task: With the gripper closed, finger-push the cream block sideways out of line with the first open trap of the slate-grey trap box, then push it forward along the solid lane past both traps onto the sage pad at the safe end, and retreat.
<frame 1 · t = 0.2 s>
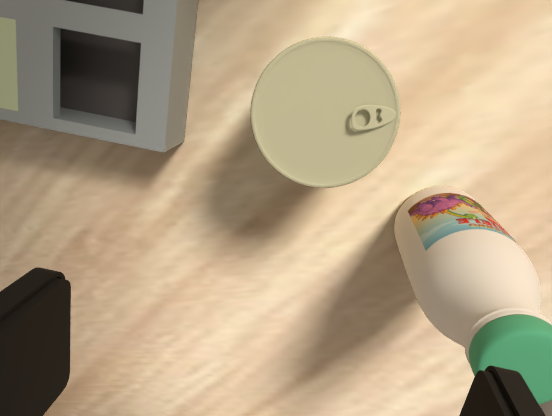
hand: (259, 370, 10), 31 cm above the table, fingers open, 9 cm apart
milk bottle: (436, 223, 40), on the table
can: (326, 99, 38), on the table
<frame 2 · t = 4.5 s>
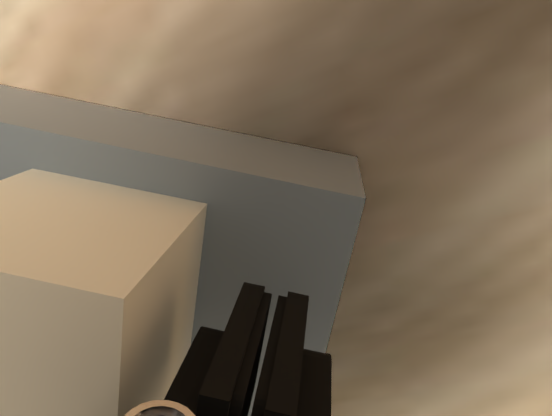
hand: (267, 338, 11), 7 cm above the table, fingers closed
block: (115, 266, 13), point 5 cm above the table, touching gripper
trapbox: (64, 372, 21), on the table
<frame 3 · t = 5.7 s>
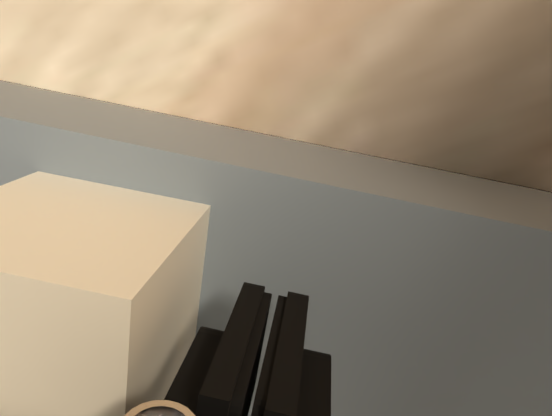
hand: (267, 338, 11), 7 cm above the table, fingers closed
block: (119, 267, 13), point 5 cm above the table, touching gripper
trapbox: (206, 402, 21), on the table
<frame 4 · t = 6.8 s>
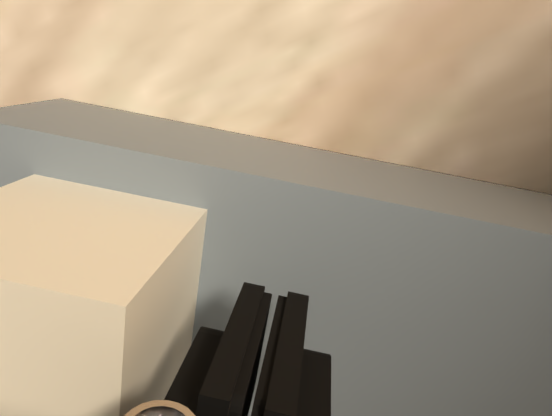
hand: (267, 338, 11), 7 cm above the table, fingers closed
block: (115, 271, 13), point 5 cm above the table, touching gripper
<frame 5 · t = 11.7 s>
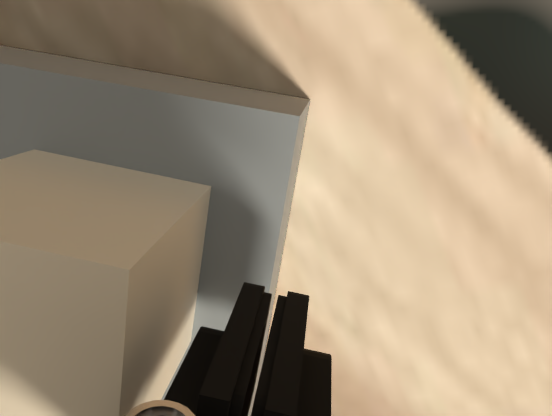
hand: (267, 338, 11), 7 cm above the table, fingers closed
block: (116, 250, 13), point 5 cm above the table, touching gripper
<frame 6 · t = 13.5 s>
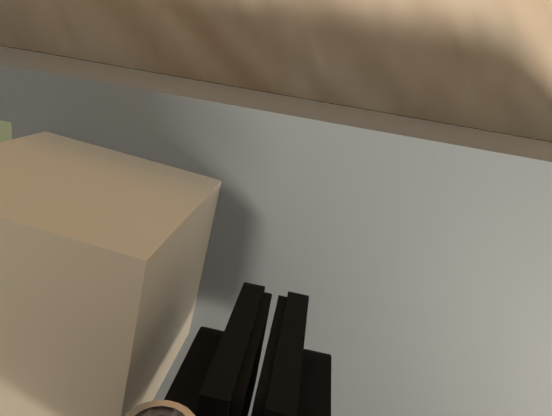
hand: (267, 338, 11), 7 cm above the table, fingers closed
block: (121, 237, 13), point 5 cm above the table, touching gripper, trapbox
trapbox: (204, 340, 20), on the table
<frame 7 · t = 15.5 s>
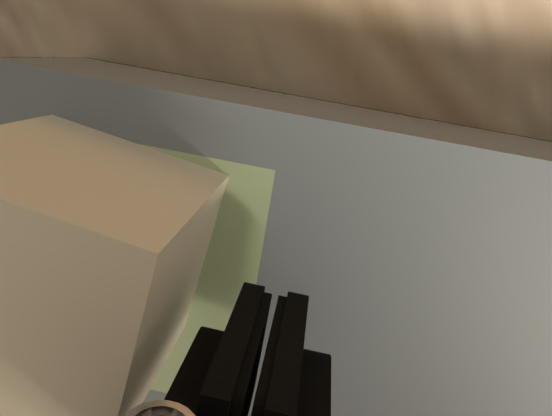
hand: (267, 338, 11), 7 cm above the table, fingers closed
block: (122, 227, 13), point 5 cm above the table, touching gripper, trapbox
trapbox: (368, 375, 19), on the table
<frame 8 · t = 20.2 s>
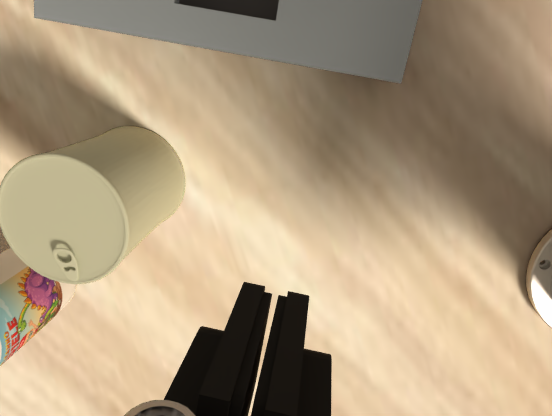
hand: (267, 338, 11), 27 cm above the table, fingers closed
milk bottle: (43, 273, 44), on the table
can: (136, 177, 40), on the table
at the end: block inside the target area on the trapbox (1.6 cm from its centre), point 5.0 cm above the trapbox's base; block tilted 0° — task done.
